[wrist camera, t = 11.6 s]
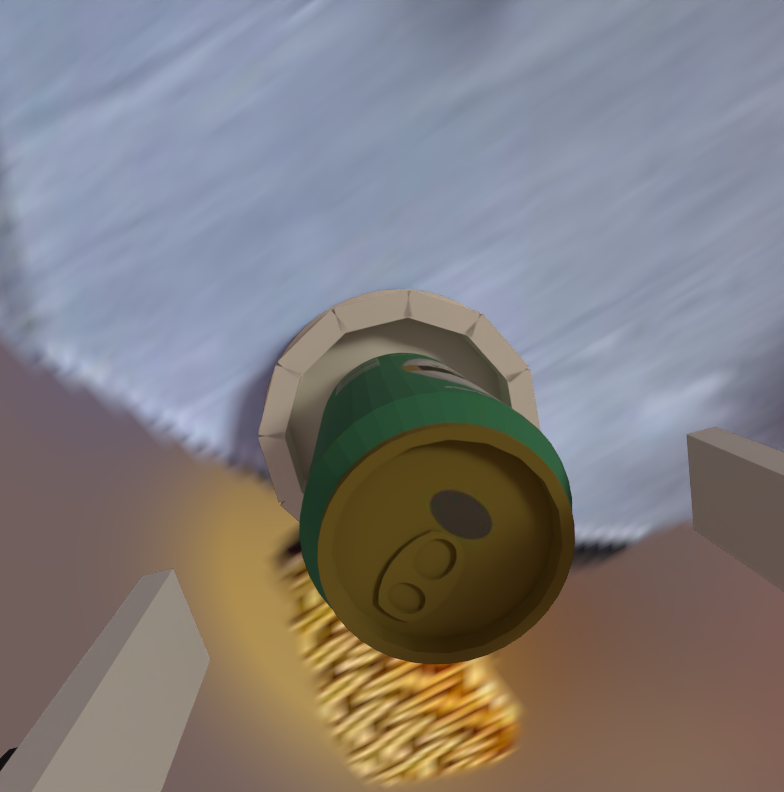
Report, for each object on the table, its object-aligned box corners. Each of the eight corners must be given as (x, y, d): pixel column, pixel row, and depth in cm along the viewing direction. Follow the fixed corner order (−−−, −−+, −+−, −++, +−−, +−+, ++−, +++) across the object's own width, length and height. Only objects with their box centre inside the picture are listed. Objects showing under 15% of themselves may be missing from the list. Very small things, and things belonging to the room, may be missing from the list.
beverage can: (504, 405, 24) (655, 506, 12) (417, 524, 25) (479, 725, 13) (379, 318, 22) (411, 338, 11) (291, 449, 23) (233, 600, 11)
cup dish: (306, 568, 26) (302, 596, 23) (230, 326, 22) (216, 329, 20) (543, 506, 26) (562, 527, 24) (500, 261, 23) (517, 256, 21)
